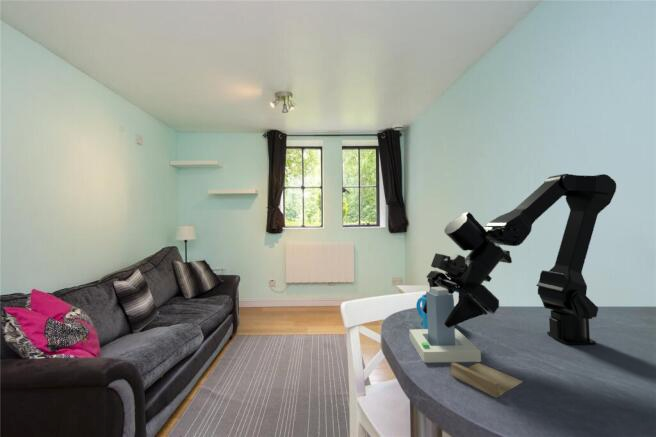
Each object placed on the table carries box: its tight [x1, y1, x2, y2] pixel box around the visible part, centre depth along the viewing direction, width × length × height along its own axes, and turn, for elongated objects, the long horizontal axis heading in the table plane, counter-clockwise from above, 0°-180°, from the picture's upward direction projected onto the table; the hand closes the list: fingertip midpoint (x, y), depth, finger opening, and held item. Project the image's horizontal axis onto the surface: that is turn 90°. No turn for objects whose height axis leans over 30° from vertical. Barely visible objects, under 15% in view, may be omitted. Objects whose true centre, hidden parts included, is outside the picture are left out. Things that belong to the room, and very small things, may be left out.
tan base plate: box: [450, 362, 524, 398], centre depth 50 cm, size 8×8×3 cm
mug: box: [415, 293, 456, 329], centre depth 79 cm, size 12×8×8 cm
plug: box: [425, 286, 456, 346], centre depth 62 cm, size 4×4×14 cm
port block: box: [408, 328, 482, 364], centre depth 62 cm, size 11×12×4 cm
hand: (434, 318), depth 62 cm, fingers open, 9 cm apart
